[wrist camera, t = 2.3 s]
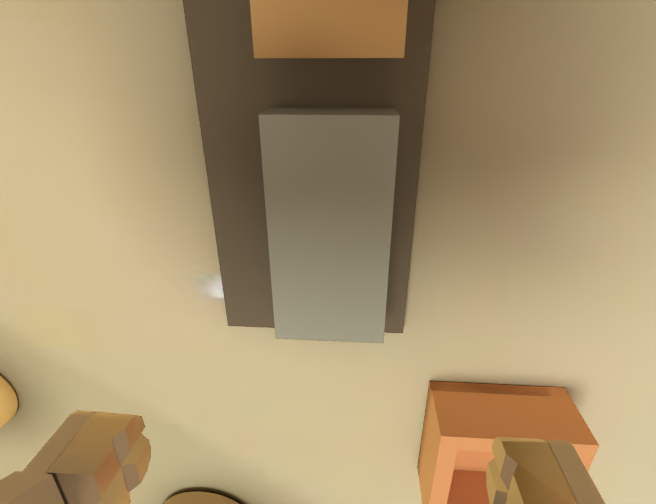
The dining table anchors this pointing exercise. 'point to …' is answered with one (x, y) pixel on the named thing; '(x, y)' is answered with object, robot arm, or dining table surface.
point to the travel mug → (199, 498)
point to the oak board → (328, 28)
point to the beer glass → (7, 401)
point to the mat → (294, 92)
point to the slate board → (329, 219)
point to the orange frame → (488, 433)
